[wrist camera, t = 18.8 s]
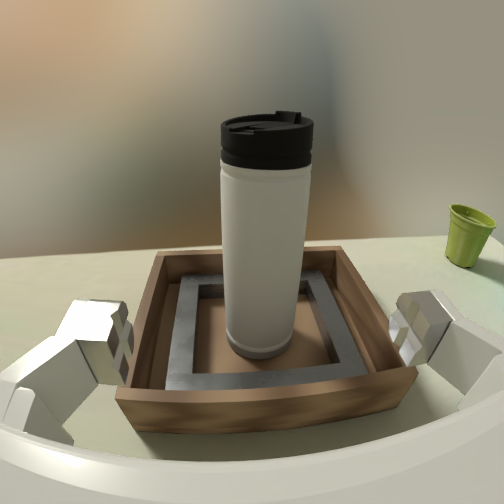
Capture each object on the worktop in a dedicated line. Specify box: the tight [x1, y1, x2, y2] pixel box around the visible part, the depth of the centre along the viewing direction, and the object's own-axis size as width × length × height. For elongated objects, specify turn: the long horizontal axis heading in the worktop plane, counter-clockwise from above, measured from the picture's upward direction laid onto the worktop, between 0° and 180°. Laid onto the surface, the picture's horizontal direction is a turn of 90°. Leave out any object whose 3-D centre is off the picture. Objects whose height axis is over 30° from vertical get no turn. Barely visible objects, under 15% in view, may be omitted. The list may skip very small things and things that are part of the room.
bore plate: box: [165, 270, 368, 390], centre depth 28 cm, size 16×16×2 cm
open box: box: [115, 246, 419, 434], centre depth 28 cm, size 22×20×5 cm
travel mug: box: [220, 111, 314, 360], centre depth 23 cm, size 6×7×20 cm
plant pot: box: [445, 204, 497, 268], centre depth 41 cm, size 9×9×9 cm
